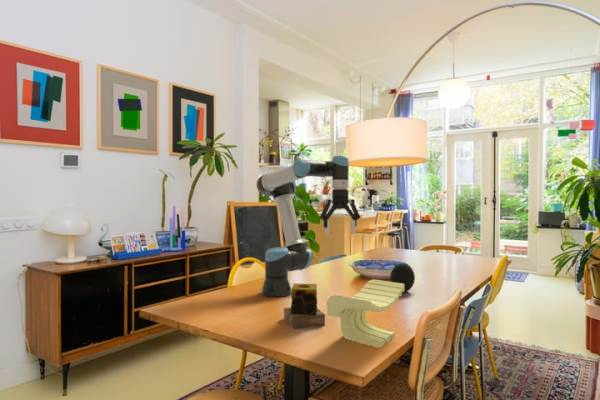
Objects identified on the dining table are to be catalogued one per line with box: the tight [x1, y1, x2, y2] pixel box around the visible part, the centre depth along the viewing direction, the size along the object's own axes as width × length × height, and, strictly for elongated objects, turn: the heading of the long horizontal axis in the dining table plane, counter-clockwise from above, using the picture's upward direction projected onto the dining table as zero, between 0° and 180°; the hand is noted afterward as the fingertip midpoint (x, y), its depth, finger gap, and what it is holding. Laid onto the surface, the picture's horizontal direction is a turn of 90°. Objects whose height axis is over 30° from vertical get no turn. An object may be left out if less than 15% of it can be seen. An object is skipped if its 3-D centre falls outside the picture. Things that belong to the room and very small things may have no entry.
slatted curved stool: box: [326, 279, 405, 348], centre depth 144 cm, size 30×16×18 cm, turn 144°
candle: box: [290, 282, 318, 315], centre depth 161 cm, size 10×10×10 cm
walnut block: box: [283, 306, 326, 330], centre depth 161 cm, size 13×13×5 cm
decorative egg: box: [390, 262, 416, 293], centre depth 210 cm, size 12×12×15 cm
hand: (340, 234), depth 187 cm, fingers open, 13 cm apart
